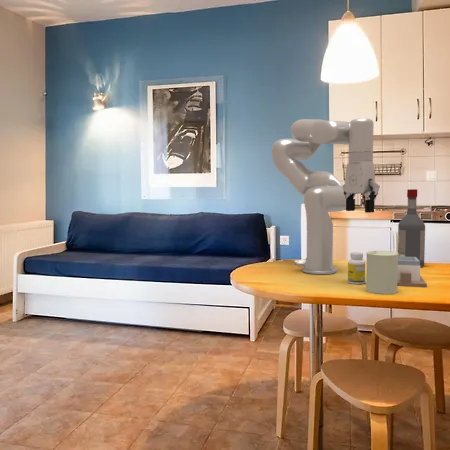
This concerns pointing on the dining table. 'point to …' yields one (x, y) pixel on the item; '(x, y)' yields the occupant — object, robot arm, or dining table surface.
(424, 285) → the display riser
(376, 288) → the can
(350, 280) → the supplement bottle
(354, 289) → the dining table surface
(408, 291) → the dining table surface
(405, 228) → the liquor
